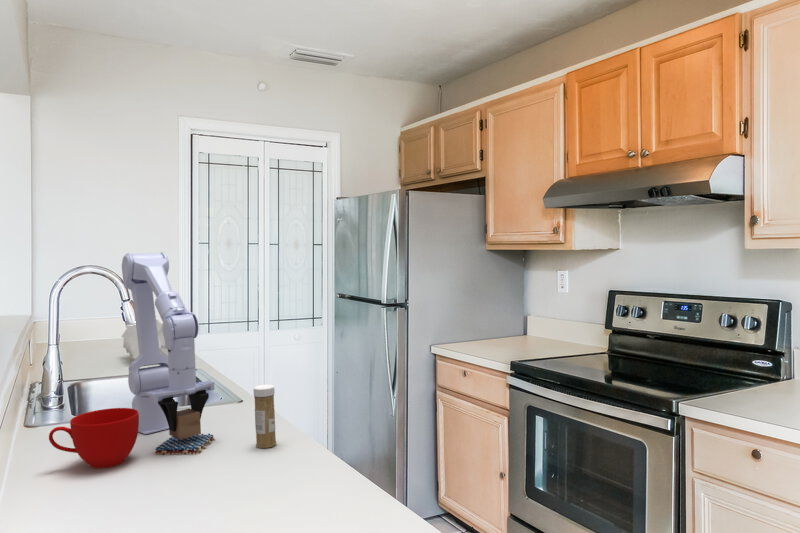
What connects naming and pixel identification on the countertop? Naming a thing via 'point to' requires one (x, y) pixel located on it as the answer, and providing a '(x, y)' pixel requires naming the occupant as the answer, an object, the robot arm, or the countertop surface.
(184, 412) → the walnut block
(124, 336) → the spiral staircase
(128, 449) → the ceramic cup
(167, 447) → the woven mat
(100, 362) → the countertop surface
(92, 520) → the countertop surface
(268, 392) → the sprinkles bottle
